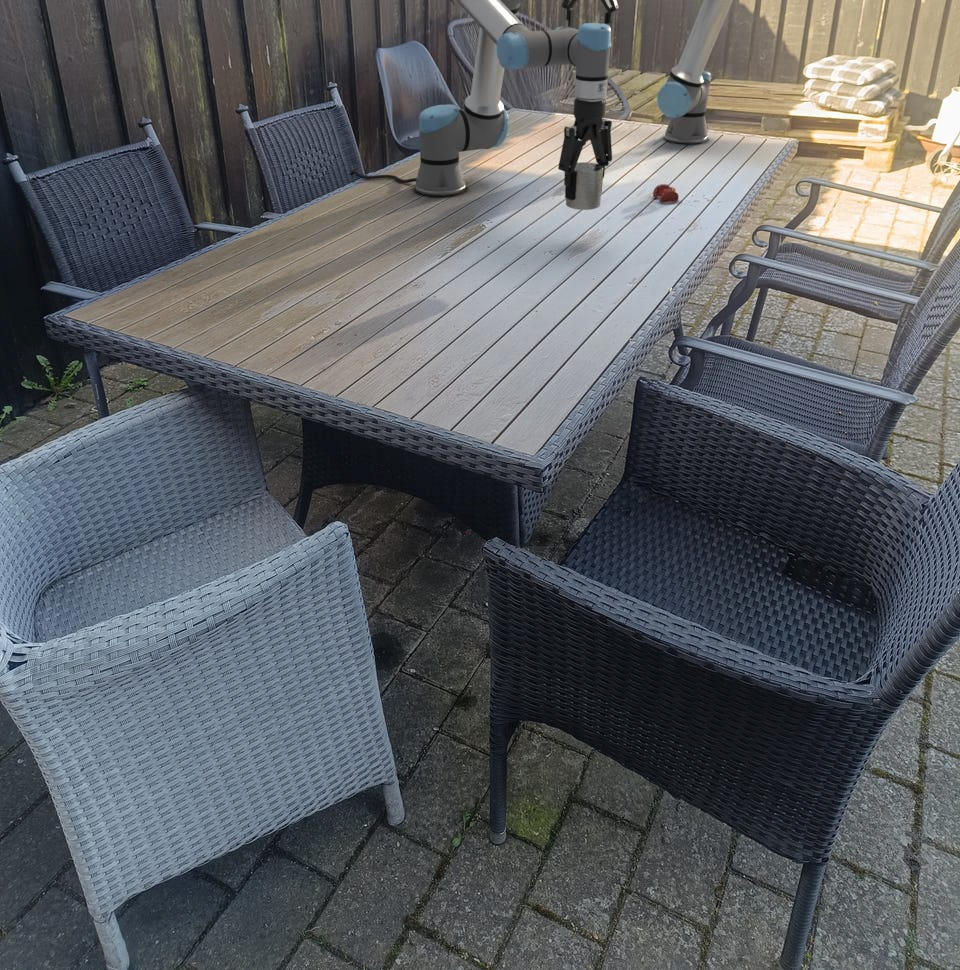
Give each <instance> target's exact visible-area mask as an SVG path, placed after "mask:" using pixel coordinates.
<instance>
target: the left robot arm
mask: <svg viewBox="0 0 960 970" xmlns="http://www.w3.org/2000/svg"><path fill="white" fill-rule="evenodd" d="M450 1H451V3H452V4H453V5H454V6H455V7H456V8H457V9H458V10H460V11H461V12H466V13H467V14H468V15H469V16H470V18H471V19H472V20H473V21H474V22H475V23H476V24H477V25H478V27H479V28H478V35H477V45H476V51H475V59H474V67H473V76H472V83H471V90H470V95H468V96H467V97H466V98H465V100H464V105H463V108H462V109H459V108H458V106H457V105H455V104H449V103H448V104H438V105H433V106H430V107H427V108H425V109H424V110H422V111H421V112H420V114H419V116H418V118H419V119H418V120H419V121H418V136H419V138H418V139H419V157H420V158H419V159H420V161H419V162H420V164H419V168H418V172H417V176H416V177H414V178H408V179H403V178H400V177H398V176H396V175H394V174H375V175H364V174H361V173H360V172H359V171H358V170H355V169H353V170H351V171H350V172H349V176H353V175H357V176H358V177H359V178H361V179H363V180H377V179H392V180H395V181H397V182H399V183H402V184H408V183H414V182H415V185H414V186H415V192H417V193H418V194H420V195H424V196H430V197H450V196H455V195H459V194H461V193H463V192H464V191H466V181H465V179H464V172H462V169H461V165H460V153H462V152H470V151H477V150H478V151H479V150H489V149H492V148H497V147H500V146H501V145H502V144H503V143H504V142H505V140H506V138H507V136H508V132H509V126H510V125H509V122H508V121H509V115H508V112H507V110H506V108H505V107H504V104H503V102H502V100H501V94H502V86H503V82H504V81H503V80H504V76H505V75H504V74H505V70H515V71H516V70H517V71H519V70H522V69H530V68H540V67H541V68H542V67H553V66H555V67H556V66H564V65H568V66H573V67H575V82H574V97H575V99H574V100H573V113H572V114H573V116H574V123H573V125H571V126H565V127H564V128H563V136H564V137H563V142H562V146H561V152H560V156H559V162H558V169H557V170H559V171H562V172H564V181H563V184H564V186H565V188H564V189H565V191H564V198H565V199H566V198H567V199H570V200H575V185H576V173H575V172H574V169H575V167H576V164H577V163H578V162H579V158H580V156H581V153H582V151H583V149H584V146H586V145H587V142H589V141H590V143H591V147H592V150H593V154H594V158H595V161H596V164H599V165H601V166H603V177H602V183H603V181H604V178H605V172H606V167H609V165H610V163H611V162H612V160H613V149H612V148H613V147H612V124H613V121H611V119H610V120H609V119H605V118H604V117H605V115H606V107H607V100H606V99H605V98H606V97H607V93H608V79H609V70H610V58H611V50H612V49H611V48H612V28H611V26H610V24H609V25H607V24H605V23H599V22H587V23H581V24H580V25H579V27H578V29H577V28H575V27H573V28H572V27H568V26H558V27H556V28H554V29H550V30H549V29H547V30H533V31H532V30H529V28H528V27H527V26H526V25H525V24H524V23H522V21H521V20H520V19H519V18H518V17H517V15H518V14H519V13H520V9H521V3H522V2H525V1H526V0H450ZM569 166H570V167H569ZM602 193H603V188H602V189H601V194H602Z"/></svg>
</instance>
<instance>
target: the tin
mask: <svg viewBox="0 0 960 970" xmlns="http://www.w3.org/2000/svg"><path fill="white" fill-rule="evenodd" d="M569 167H570V166H569ZM574 172H575V173H576V185H575V200H570V199H567V198H565V206H566V207H568V208H570V209H574V210H578V211H579V210H580V211H589V210H590V211H591V210H595V209H599V207H600V206H601V199H602V193H601V189H602V190H603V182H602V177H603V166H601V165H599V164H598V163H595V162H585V161H584V162H582V161H581V162H577V164H576V167H575V169H574Z"/></svg>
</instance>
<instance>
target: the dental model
mask: <svg viewBox="0 0 960 970" xmlns="http://www.w3.org/2000/svg"><path fill="white" fill-rule="evenodd" d="M652 198H659V203H671V202H672V203H673V202H678V201H679V193H678V192H677V189H676V188H674V187H673V186H670V185H669V184H666V183H663V184H662V183H661V184H658V185H656V187H655V188H654V189H653V192H652Z"/></svg>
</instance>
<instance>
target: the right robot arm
mask: <svg viewBox="0 0 960 970" xmlns="http://www.w3.org/2000/svg"><path fill="white" fill-rule="evenodd" d="M578 1H579V0H563V1H562V3H561V7H562V8H564V9H565V10H566V15H565V16H566V18H565V19H566V21H568V23H567V27H572V28H574V21H575V20H574V19H575V9H573V8H574V7H575V6H576V4H577V3H578ZM600 2H601V3H602V5H603V6H604V8H605V10H606V11H607V12H605V13H604V24H607V25H609V26H610V24H612V22H613V16H614V12H616V11H618V10H619V8H620V7H619V4H618V1H617V0H600ZM733 2H734V0H703V2H702V4H701V6H700V9H699V12H698V14H697V16H696V19H695V22H694V24H693V27H692V29H691V32H690V34H689V35H688V39H687V41H686V44H685V46H684V48H683V52H682V54H681V56H680V59H679V61H678V63H677V65H675V66H674V67H671V70H670V71H669V72H670V73H669V75H668V77H667V80H666V81H665V83H664V84H663V85H662V86H661V87H660V89H659V90H658V93H657V95H656V96H657V97H656V102H657V106H658V110H660V112H661V113H662V114H663V115H664V116H665V117H668V118H670V120H669V123H668V124H667V128H666V130H665V133H664V140H666V141H668V142H671V143H676V144H684V145H685V144H686V145H693V144H694V145H695V144H701V143H705V142H707V141H708V129H709V126H707V122H706V121H707V120H706V113H707V108H708V100H709V94H710V86H711V83H712V81H711V80H712V79H711V78H712V75H711V72H709V71H706V70H705V67H706V65H707V62H708V60H709V58H710V56H711V53H712V51H713V48H714V46H715V44H716V42H717V39H718V37H719V34H720V31H721V29H722V27H723V25H724V23H725V20H726V18H727V15H728V13H729V11H730V8H731V6H732V3H733Z"/></svg>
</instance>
